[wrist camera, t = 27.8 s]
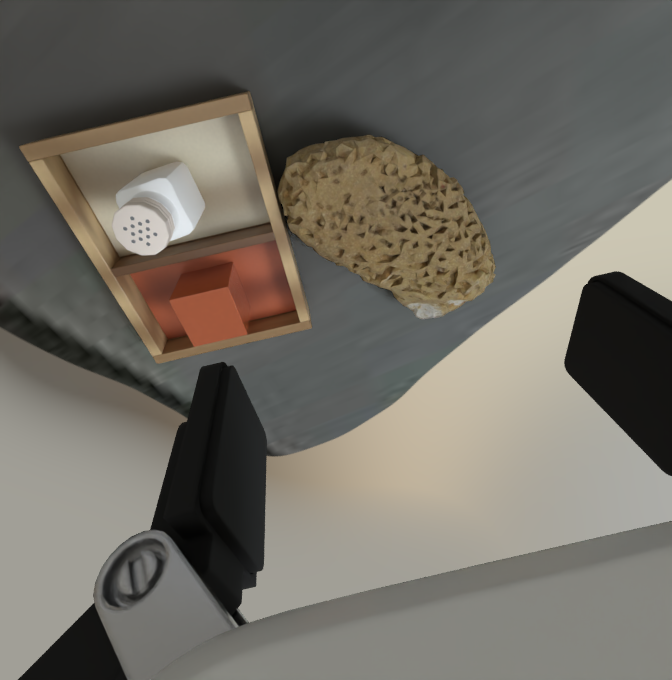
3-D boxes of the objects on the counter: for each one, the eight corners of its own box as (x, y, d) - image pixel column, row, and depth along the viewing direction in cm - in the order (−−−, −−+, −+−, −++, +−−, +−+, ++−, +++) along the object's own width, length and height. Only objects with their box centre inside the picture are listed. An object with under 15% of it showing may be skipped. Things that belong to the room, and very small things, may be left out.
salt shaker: (137, 173, 29) (88, 209, 21) (185, 157, 29) (152, 188, 21) (165, 221, 31) (129, 270, 24) (209, 207, 31) (187, 251, 24)
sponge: (485, 237, 38) (395, 49, 25) (516, 290, 34) (425, 93, 20) (378, 297, 44) (255, 169, 30) (391, 350, 39) (252, 227, 25)
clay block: (180, 273, 34) (168, 300, 30) (233, 261, 34) (227, 286, 30) (202, 317, 37) (193, 347, 33) (250, 306, 37) (247, 334, 33)
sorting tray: (41, 139, 28) (18, 146, 25) (249, 90, 27) (247, 92, 25) (164, 345, 40) (157, 364, 37) (309, 312, 39) (312, 328, 37)
